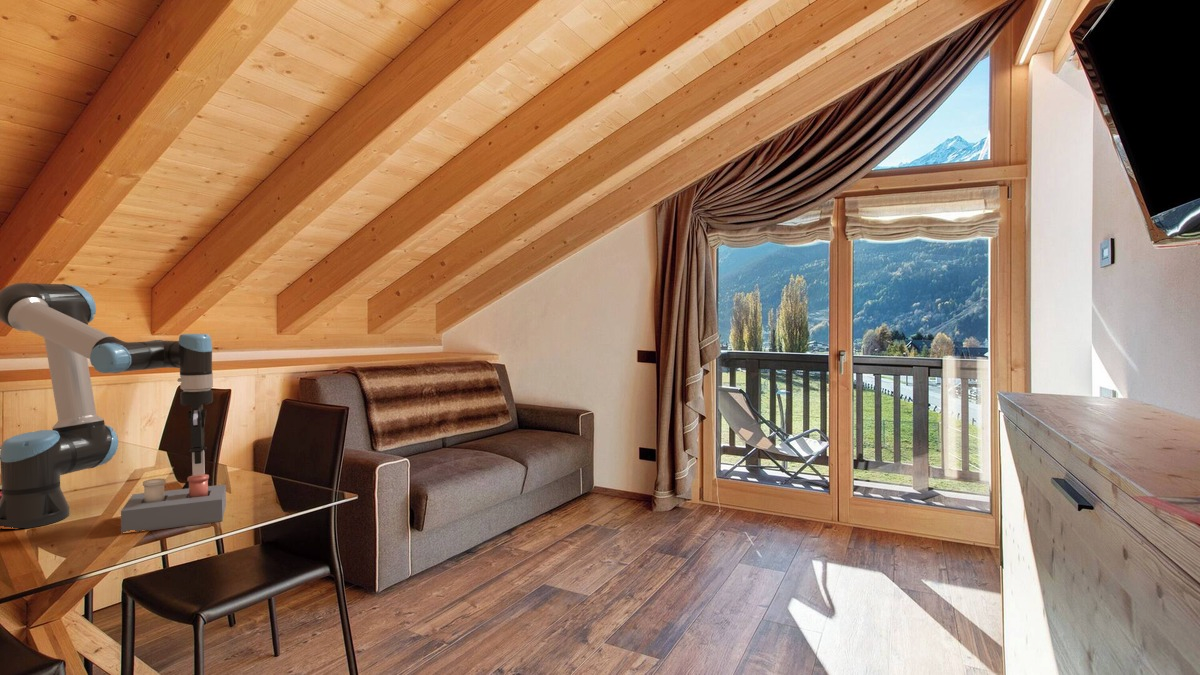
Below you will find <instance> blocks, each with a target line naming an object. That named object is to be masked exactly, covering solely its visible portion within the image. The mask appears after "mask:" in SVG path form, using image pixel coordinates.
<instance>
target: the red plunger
mask: <svg viewBox="0 0 1200 675" xmlns="http://www.w3.org/2000/svg"><path fill="white" fill-rule="evenodd" d="M187 480H188V482H189V498H194V497H203V496H208V480H210V475H209V474H206V473H205V474H204V475H194V476H193V475H189V476H187Z"/></svg>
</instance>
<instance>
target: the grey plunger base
mask: <svg viewBox="0 0 1200 675" xmlns="http://www.w3.org/2000/svg"><path fill="white" fill-rule="evenodd" d="M164 492H165V501H158V502H149V503H145V498H144V492H143V493H133V494H132V495H131V496H130V497H129V499H128V500H127V502H126V503H125V504H124V506H123V508H122V509H121V510H120V533H123V532H126V531H130V530H135V531H137V532H136V533H140V532H139V531H142V530H149V531H148V532H150V531H157V530H158V531H159V530H165V529H166V530H167V529H172V528H182V527H187V526H195V525H196V526H197V525H204V524H205V525H206V524H211V523H220V522H223V520H224V516H225V510H226V505H227V499H226V496H227V495H226V494H227V493H226V492H227V489H226V484H217V485H209V486H208V496H203V497H194V498H189V488H188V489H182V488H181V489H171V490H164Z"/></svg>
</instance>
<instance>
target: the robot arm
mask: <svg viewBox="0 0 1200 675" xmlns="http://www.w3.org/2000/svg"><path fill="white" fill-rule="evenodd" d="M96 313H97V305H96V302H95V300H94V297H93V295H91V293H90V292H89V291H88V290H86V289H85V288H83V287H81V286H78V285H75V284H74V285H72V284H71V285H70V284H65V283H31V282H21V283H20V282H19V283H14V284H10V285H8V286H5V287H4V288H2V289H0V321H1V322H2V323H3V324H5V325H6V326H9V327H11V328H13V329H14V330H17V331H19V332H20V331H21V332H27V331H28V332H31V333H33V334H36V335H37V336H39V337H42V338H43V339H44V345H45V351H46V356H47V362H48V368H49V374H50V379H51V385H52V391H53V392H52V393H53V398H54V403H55V409H56V416H57V421H56V422H55V424H53V425H52V428H51V429H44V430H43V429H42V430H41V429H40V430H36V431H29V432H24V433H19V434H16V435H14V436H11V437H9V438H7V439H5V440H4V441H3V442H2V444H1V445H0V477H1V479H0V480H1V485H0V486H1V497H0V526H4V527H11V528H12V527H13V528H25V529H30V528H37V527H42V526H46V525H50V524H53V523H56V522H60V521H62V520H64V519H66V518H68V517H69V516H70V505H69V504H68V500H67V499H66V497H65V495H64V493H63V491H62V488H61V476H63V475H67V474H71V473H75V472H79V471H83V470H87V469H88V470H89V469H94V468H96V467H98V466H102V465H104V464H107V463H108V462H109V461H111V460H112V459H113V458H114V456H115V455H116V453H117V450H118V449H119V448H118V447H119V438H118V434H117V432H116V430H114V428H113V427H111V426H110V425H107V424H106V423H105V419H104V418H103V417H101V416H99V415H98V414H97V409H96V404H95V398H94V392H93V391H94V390H93V386H92V380H91V373H90V368H89V362H90V365H91V366H92V367H93V368H94V370H95V371H97V372H99V373H101V374H102V373H103V374H120V373H124V372H133V371H135V372H136V371H143V370H156V369H164V368H167V369H168V368H169V369H170V368H172V369H174V368H175V369H179V377H180V378H179V377H178V378H177V382H179V383H180V384H179V385H180V390H182V391H181V392H180V393H179V395H180V405H182V406H185V407H186V406H190V407H191V408H190V410H189V411H188V412H187V417H188V421H189V422H188V425H189V429H190V430H189V431H190V445H191V446H190V447H191V448H190V449H189V450H188V453H189V454H190V453H191V463H192V467H191V468H192V470H191V471H192V476H194V475H204V474H206V472H205V469H206V468H205V466H206V465H205V450H207V449H208V446H205V425H206V416H207V409H204V406H205V405H210V404H212V403H213V402H214V391H213V390H212V389H213V388H214V384H213V383H214V380H213V379H214V378H213V377H214V376H213V375H214V373H213V344H212V337H211V335H210V334H208V333H182V334H180V335H179V338H178V340H163V339H157V340H156V339H153V340H147V341H134V342H133V341H132V342H131V341H123V340H121V339H119V338H117V337H115V336H112V335H110V334H109V333H106V332H104V331H101V330H100V329H97V328H95V327H93V326H92V325H89V323H91V322H92V321H93V320H94V318H95V315H96ZM88 359H89V362H88Z"/></svg>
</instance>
